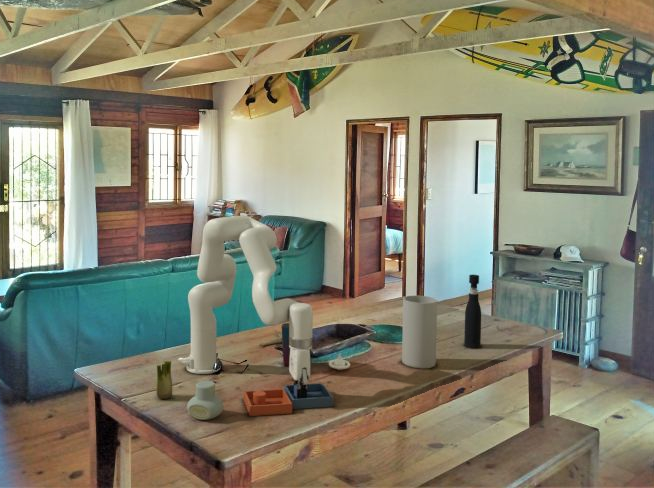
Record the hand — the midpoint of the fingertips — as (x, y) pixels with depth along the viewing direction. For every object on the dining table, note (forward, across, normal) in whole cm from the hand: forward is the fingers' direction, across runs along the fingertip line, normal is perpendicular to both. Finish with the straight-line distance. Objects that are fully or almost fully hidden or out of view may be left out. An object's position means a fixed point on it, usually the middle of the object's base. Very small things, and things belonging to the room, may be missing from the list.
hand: (300, 397), depth 195 cm
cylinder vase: (+1, -27, +54) cm, 60 cm away
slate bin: (+1, 0, +3) cm, 3 cm away
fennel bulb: (+1, -9, -43) cm, 44 cm away
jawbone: (+1, -64, +3) cm, 64 cm away
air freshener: (+1, +7, -31) cm, 32 cm away
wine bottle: (+1, -44, +86) cm, 96 cm away
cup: (+1, -34, +5) cm, 34 cm away
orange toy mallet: (+1, +3, -11) cm, 12 cm away
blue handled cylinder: (0, 0, +3) cm, 3 cm away
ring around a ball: (+1, -26, +22) cm, 34 cm away
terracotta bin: (+1, +3, -11) cm, 12 cm away
